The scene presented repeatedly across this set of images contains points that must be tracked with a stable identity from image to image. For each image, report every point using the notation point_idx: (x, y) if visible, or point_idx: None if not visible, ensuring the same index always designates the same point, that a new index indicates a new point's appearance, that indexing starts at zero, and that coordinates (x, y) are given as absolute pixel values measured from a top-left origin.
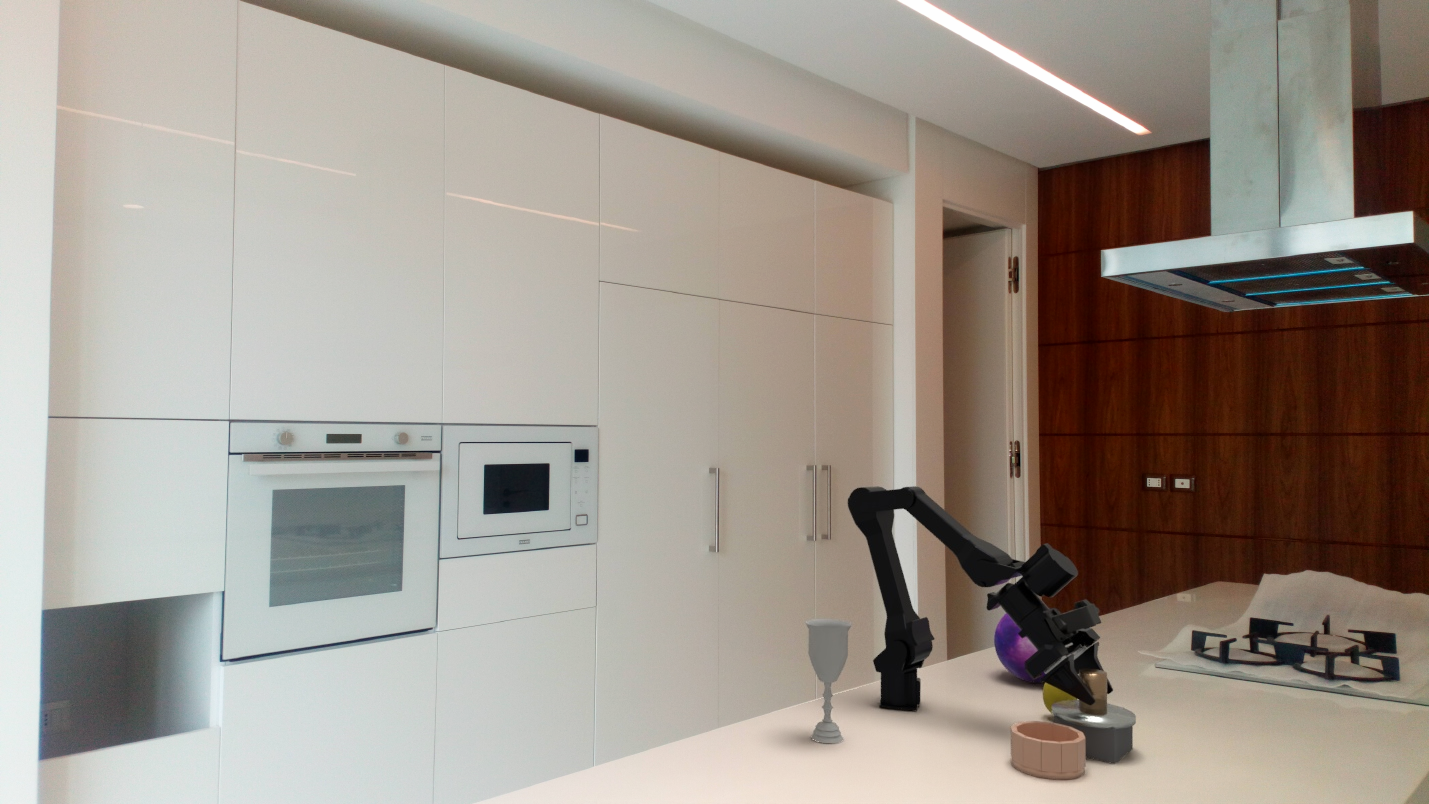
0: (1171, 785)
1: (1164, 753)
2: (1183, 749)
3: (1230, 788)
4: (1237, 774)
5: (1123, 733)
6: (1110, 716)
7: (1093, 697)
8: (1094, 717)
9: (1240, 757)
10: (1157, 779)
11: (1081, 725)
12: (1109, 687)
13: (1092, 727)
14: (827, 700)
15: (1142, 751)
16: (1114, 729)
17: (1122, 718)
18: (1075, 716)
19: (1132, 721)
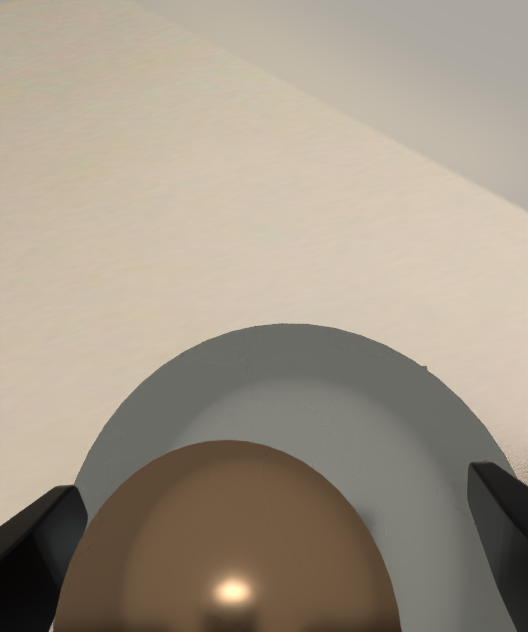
0: (441, 216)
1: (164, 327)
2: (89, 304)
3: (331, 131)
4: (212, 155)
5: None
6: (308, 428)
7: (485, 478)
8: (407, 488)
9: (71, 193)
10: (426, 256)
11: None
12: (60, 509)
13: None
14: None
15: None
16: (426, 366)
17: (295, 369)
18: (493, 598)
19: (291, 326)
